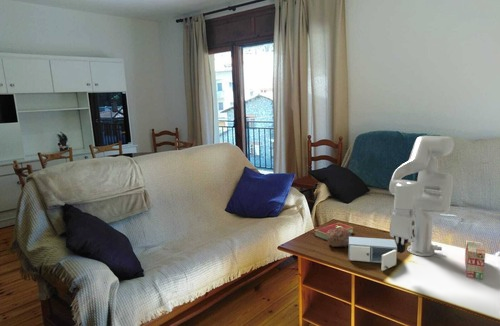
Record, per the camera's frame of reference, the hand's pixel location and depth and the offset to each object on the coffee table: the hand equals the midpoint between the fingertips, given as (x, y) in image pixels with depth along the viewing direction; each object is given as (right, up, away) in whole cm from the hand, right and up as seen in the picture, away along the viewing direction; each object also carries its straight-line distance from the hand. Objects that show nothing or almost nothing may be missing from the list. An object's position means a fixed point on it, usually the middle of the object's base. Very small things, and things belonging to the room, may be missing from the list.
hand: (400, 251), depth 153 cm
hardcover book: (-16, -4, +54) cm, 57 cm away
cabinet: (-6, -8, +21) cm, 23 cm away
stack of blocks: (+37, -10, +7) cm, 39 cm away
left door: (-1, -10, +9) cm, 13 cm away
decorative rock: (-18, -6, +37) cm, 42 cm away
